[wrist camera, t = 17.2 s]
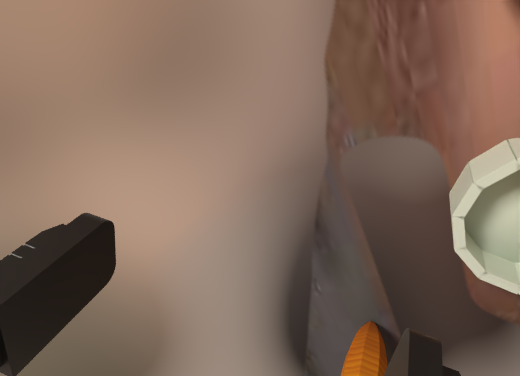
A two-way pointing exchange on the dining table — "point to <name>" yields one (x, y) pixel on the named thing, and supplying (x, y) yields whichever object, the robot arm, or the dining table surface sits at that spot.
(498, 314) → the dining table surface
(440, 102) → the dining table surface
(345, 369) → the carrot
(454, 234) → the bowl
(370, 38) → the dining table surface
